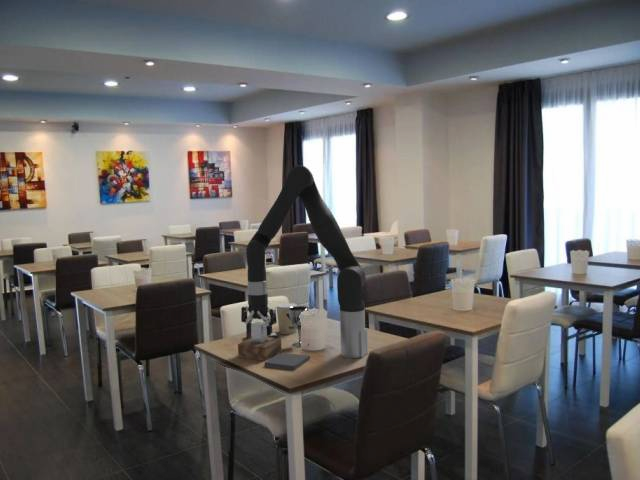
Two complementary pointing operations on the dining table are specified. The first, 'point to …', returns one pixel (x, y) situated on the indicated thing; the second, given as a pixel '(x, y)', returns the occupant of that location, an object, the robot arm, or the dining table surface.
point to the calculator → (273, 335)
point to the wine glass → (297, 320)
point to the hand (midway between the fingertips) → (259, 334)
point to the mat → (287, 361)
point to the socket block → (259, 349)
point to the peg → (259, 332)
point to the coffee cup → (285, 318)
